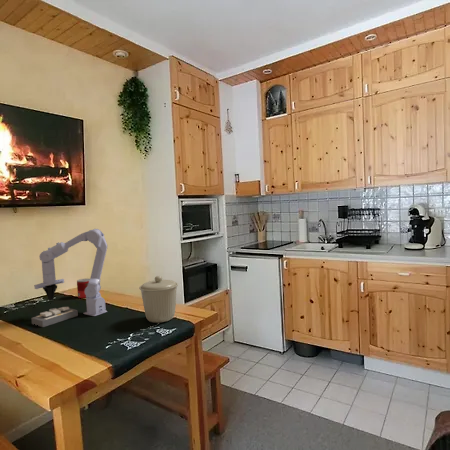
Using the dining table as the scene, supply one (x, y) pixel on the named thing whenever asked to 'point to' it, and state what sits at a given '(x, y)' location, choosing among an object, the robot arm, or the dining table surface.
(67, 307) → the switch
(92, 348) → the dining table surface
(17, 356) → the dining table surface
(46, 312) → the switch
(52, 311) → the switch
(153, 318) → the canister
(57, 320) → the switch unit
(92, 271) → the robot arm
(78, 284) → the canned food
